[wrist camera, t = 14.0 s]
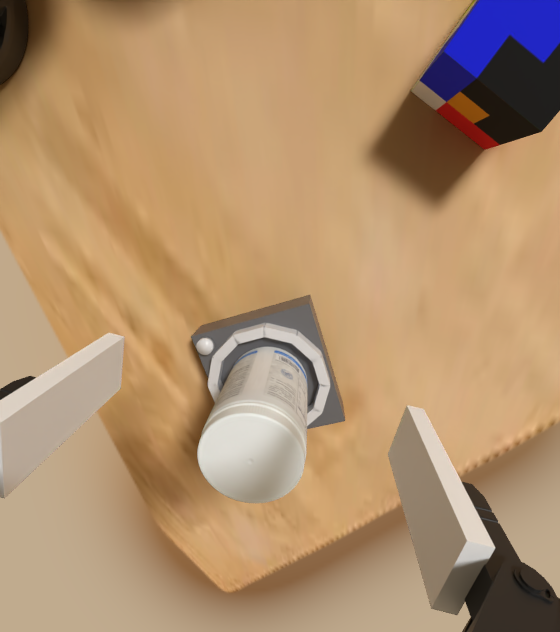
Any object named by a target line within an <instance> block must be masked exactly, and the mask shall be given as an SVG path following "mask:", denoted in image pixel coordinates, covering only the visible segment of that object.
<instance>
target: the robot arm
mask: <svg viewBox="0 0 560 632" xmlns="http://www.w3.org/2000/svg"><path fill="white" fill-rule="evenodd" d="M27 37H28V15H27V7H26V2H25V0H0V84H1V83H3V82H4V81H6V80H7V79H8V78H9V77H10V76H11V75H12V74H13V73H14V71H15V70H16V69H17V67H18V65H19V64H20V62H21V59H22V57H23V54H24V51H25V48H26V43H27ZM123 351H124V336H120V335H116V334H111V333H107V334H106V335H104V336H103V337H101V338H99V339H98V340H96V341H95V342H93V343H91V344H90V345H88V346H86V347H85V348H83V349H82V350H80V351H78V352H77V353H75V354H74V355H72V356H70V357H69V358H67V359H66V360H64V361H62V362H61V363H59V364H58V365H56V366H55V367H53V368H51V369H50V370H48V371H46V372H45V373H43V374H42V375H40V376H38V377H37V378H36V377H32V376H28V377H25V378H22V379H19V380H16V381H13V382H12V383H10V384H8V385H6V386H5V387H3V388H1V389H0V497H1V498H5V497H6V496H7V495H8V494H9V493H10V492H12V491H13V490H14V489H15V488H16V487H17V486H18V485H19V484H20V483H21V482H22V481H23V480H24V479H25V478H26V477H27V476H28V475H30V474H31V473H32V472H33V471H34V470H35V469H36V468H37V467H38V466H39V465H40V464H41V463H42V462H43V461H44V460H45V459H46V458H47V457H48V456H50V455H51V454H52V453H53V452H54V451H55V450H56V449H57V448H58V447H59V446H60V445H61V444H62V443H63V442H65V441H66V440H67V439H68V438H69V437H70V436H71V435H72V434H73V433H74V432H75V431H76V430H77V429H78V428H79V427H80V426H81V425H82V424H83V423H85V422H86V421H87V420H88V419H89V418H90V417H91V416H92V415H93V414H94V413H95V412H96V411H97V410H98V409H99V408H100V407H102V406H103V405H104V404H105V403H106V402H107V401H108V400H109V399H110V398H111V397H112V396H113V395H114V394H115V393H116V392H117V391H118V390H120V389H121V377H122V364H123ZM388 457H389V460H390V464H391V467H392V471H393V474H394V478H395V482H396V485H397V489H398V492H399V496H400V499H401V503H402V506H403V510H404V513H405V517H406V521H407V524H408V528H409V531H410V535H411V538H412V542H413V546H414V549H415V553H416V556H417V560H418V563H419V567H420V570H421V574H422V578H423V581H424V585H425V588H426V592H427V595H428V599H429V602H430V606H431V609H435V610H439V611H443V612H446V613H451V614H455V615H457V614H458V613H459V611H460V609H461V608H462V606H463V604H464V602H466V605H467V607H468V610H469V613H470V615H471V618H470V619H469V621H468V623H467V624H466V626H465V628H464V629H463V631H462V632H560V599H559V598H558V597H557V596H556V594H555V592H554V590H553V588H552V587H551V586H550V584H549V583H548V582H547V581H546V580H545V579H544V577H542V576H541V575H540V574H539V573H538V572H537V571H536V570H534V569H533V568H531V567H529V566H528V565H526V564H525V563H522V562H521V561H520V559H519V557H518V556H517V554H516V552H515V550H514V548H513V547H512V545H511V543H510V541H509V540H508V538H507V536H506V534H505V533H504V531H503V529H502V527H501V526H500V524H498V520H497V519H496V517H495V515H494V513H492V510H491V508H490V506H489V505H488V503H487V501H486V499H485V497H484V496H483V495H482V494H481V493H480V492H479V491H478V490H477V489H476V488H475V487H474V486H473V485H472V484H469V483H465V482H461V480H460V478H459V476H458V474H457V472H456V471H455V469H454V467H453V465H452V463H451V461H450V459H449V457H448V455H447V453H446V451H445V449H444V447H443V445H442V443H441V441H440V440H439V438H438V436H437V434H436V432H435V430H434V428H433V426H432V424H431V422H430V420H429V418H428V416H427V414H426V412H425V411H424V409H421V408H417V407H413V406H409V405H407V406H406V409H405V411H404V414H403V416H402V419H401V422H400V424H399V427H398V429H397V432H396V434H395V437H394V440H393V442H392V445H391V447H390V450H389V453H388Z"/></svg>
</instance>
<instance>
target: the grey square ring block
mask: <svg viewBox="0 0 560 632" xmlns="http://www.w3.org/2000/svg"><path fill="white" fill-rule="evenodd" d="M191 338H192V340H193V343H194V345H195V348H196V350H197V352H198V355H199V357H200V360H201V362H202V365H203V367H204V369H205V372H206V374H207V377H208V388H209V390H210V392H211V395H212V397H213V400H214V402H215V403H216V401H217V398H218V396H219V394H220V392H221V390H222V388H223V386H224V384H225V382H226V380H227V378H228V376H229V374H230V372H231V369H232V368H233V366H234V364H235V362H236V361H237V360H238V359H239V358H240V357H241V356H242V355H243V354H245V353H246V352H248V351H250V350H253V349H255V348H259V347H276V348H280V349H282V350H285V351H287V352H289V353H290V354H292V355H293V356H294V357H296V358H297V359H298V361H299V362H300V363H301V365H302V366H303V368H304V370H305V372H306V376H307V383H308V391H307V429H309V428H314V427H319V426H323V425H328V424H333V423H338V422H342V421H345V415H344V407H343V402H342V399H341V395H340V392H339V389H338V385H337V382H336V379H335V376H334V372H333V369H332V366H331V362H330V359H329V356H328V352H327V349H326V346H325V343H324V339H323V336H322V333H321V329H320V326H319V323H318V319H317V316H316V313H315V309H314V306H313V303H312V300H311V296H310V295H308V296H304V297H301V298H297V299H293V300H290V301H286V302H283V303H279V304H276V305H272V306H269V307H265V308H262V309H258V310H255V311H251V312H248V313H244V314H241V315H237V316H234V317H230V318H227V319H223V320H219V321H216V322H212V323H209V324H205V325H202V326H200V327H199V329H198V330H197V331H196V332H195V333H194V334H193V335H192V336H191Z"/></svg>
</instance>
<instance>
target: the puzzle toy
mask: <svg viewBox="0 0 560 632" xmlns="http://www.w3.org/2000/svg"><path fill="white" fill-rule="evenodd" d="M411 92H413V93H414V94H415V95H416V96H418V97H419V98H420V99H421V100H423V101H424V102H425V103H426V104H428V105H429V106H430V107H431V108H433V109H434V110H435V111H437V112H438V113H439V114H440V115H442V116H443V117H444V118H445V119H447V120H448V121H449V122H450V123H452V124H453V125H454V126H455V127H457V128H458V129H459V130H460V131H462V132H463V133H464V134H465V135H467V136H468V137H469V138H471V139H472V140H473V141H474V142H476V143H477V144H478V145H479V146H481V147H482V148H483V149H484V150H485V149H489V148H492V147H495V146H498V145H501V144H504V143H507V142H511V141H514V140H517V139H520V138H523V137H526V136H529V135H533V134H536V133H539V132H542V131H543V129H544V128H545V127H546V126H547V125H548V124H549V122H550V121H551V120H552V119H553V118H554V117H555V115H556V114H557V113H558V112H559V111H560V0H474V1H473V2H472V4H471V5H470V6H469V8H468V9H467V11H466V12H465V14H464V15H463V16H462V18H461V19H460V21H459V22H458V24H457V25H456V26H455V28H454V29H453V31H452V32H451V34H450V35H449V36H448V38H447V39H446V41H445V42H444V44H443V45H442V46H441V48H440V49H439V51H438V52H437V54H436V55H435V56H434V58H433V59H432V61H431V62H430V64H429V65H428V66H427V68H426V69H425V71H424V72H423V74H422V75H421V76H420V78H419V79H418V81H417V82H416V84H415V85H414V86H413V88H412V89H411Z"/></svg>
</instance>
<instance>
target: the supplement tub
mask: <svg viewBox="0 0 560 632" xmlns="http://www.w3.org/2000/svg"><path fill="white" fill-rule="evenodd" d="M307 391H308V383H307V376H306V372H305V370H304V368H303V366H302V365H301V363H300V362H299V361H298V359H297V358H296V357H294V356H293V355H292V354H290V353H289V352H287V351H285V350H282V349H280V348H276V347H259V348H255V349H253V350H250V351H248V352H246V353H245V354H243V355H242V356H241V357H240V358H239V359H238V360H237V361H236V362H235V364H234V366H233V368H232V369H231V372H230V374H229V376H228V378H227V380H226V382H225V384H224V386H223V388H222V390H221V392H220V394H219V396H218V398H217V401H216V403H215V405H214V407H213V409H212V411H211V413H210V415H209V417H208V419H207V422H206V424H205V426H204V428H203V431H202V434H201V438H200V441H199V444H198V450H197V458H198V464H199V467H200V470H201V472H202V474H203V475H204V477H205V478H206V480H207V481H208V482H209V483H210V484H211V485H212V486H213V487H214V488H215V489H216V490H217V491H219V492H220V493H222V494H223V495H225V496H227V497H229V498H231V499H234V500H237V501H241V502H246V503H265V502H270V501H274V500H276V499H279V498H281V497H283V496H285V495H286V494H288V493H289V492H290V491H291V490H292V489H293V488H294V487H295V486H296V485H297V484H298V482H299V480H300V478H301V476H302V474H303V470H304V463H305V459H306V444H307Z"/></svg>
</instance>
